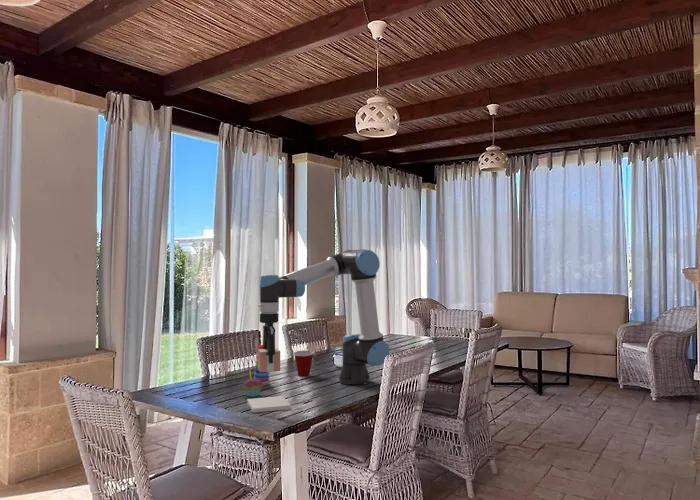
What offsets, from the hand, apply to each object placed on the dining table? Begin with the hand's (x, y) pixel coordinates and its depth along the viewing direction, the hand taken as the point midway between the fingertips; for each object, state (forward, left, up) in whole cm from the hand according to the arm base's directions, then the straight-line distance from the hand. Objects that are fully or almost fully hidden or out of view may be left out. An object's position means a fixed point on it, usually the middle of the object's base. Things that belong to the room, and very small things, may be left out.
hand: (268, 369), depth 212 cm
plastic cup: (-28, -51, -15) cm, 60 cm away
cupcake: (+3, -19, -15) cm, 24 cm away
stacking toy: (-4, -38, -15) cm, 41 cm away
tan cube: (0, 0, 0) cm, 0 cm away
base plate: (0, 0, -15) cm, 15 cm away
